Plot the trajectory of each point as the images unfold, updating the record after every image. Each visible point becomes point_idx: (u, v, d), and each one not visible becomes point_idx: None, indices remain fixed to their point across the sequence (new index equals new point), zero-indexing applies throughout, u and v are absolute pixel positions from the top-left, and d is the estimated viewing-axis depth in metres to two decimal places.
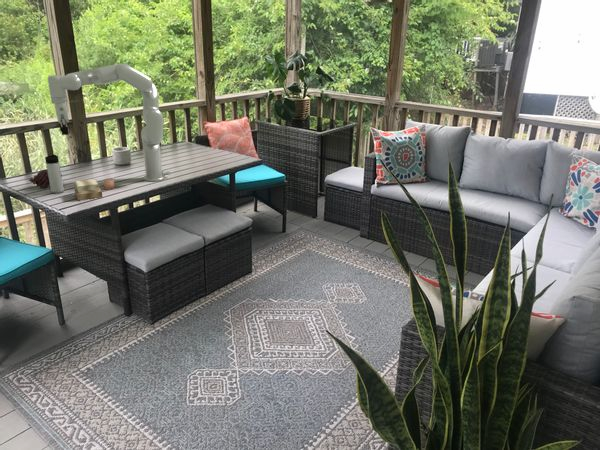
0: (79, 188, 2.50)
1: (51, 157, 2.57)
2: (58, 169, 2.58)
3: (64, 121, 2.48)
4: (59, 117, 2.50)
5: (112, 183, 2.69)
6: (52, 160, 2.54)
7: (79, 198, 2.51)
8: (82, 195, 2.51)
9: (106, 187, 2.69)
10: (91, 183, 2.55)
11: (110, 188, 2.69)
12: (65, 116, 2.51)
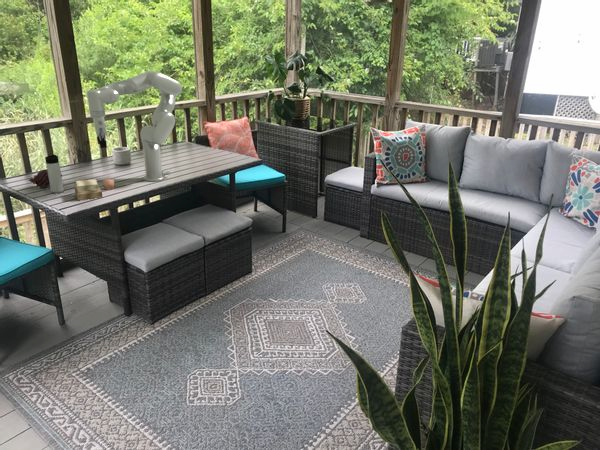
0: (79, 188, 2.50)
1: (51, 157, 2.57)
2: (58, 169, 2.58)
3: (103, 135, 2.53)
4: (98, 131, 2.54)
5: (112, 183, 2.69)
6: (52, 160, 2.54)
7: (79, 198, 2.51)
8: (82, 195, 2.51)
9: (106, 187, 2.69)
10: (90, 183, 2.55)
11: (110, 188, 2.69)
12: (104, 130, 2.55)
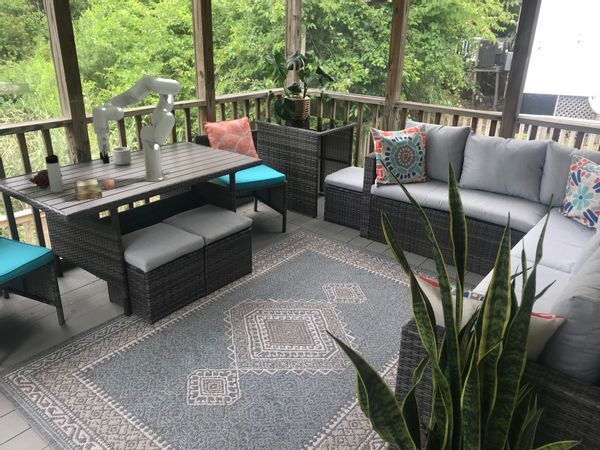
0: (79, 188, 2.51)
1: (51, 157, 2.57)
2: (58, 169, 2.58)
3: (106, 151, 2.56)
4: (101, 147, 2.57)
5: (112, 183, 2.69)
6: (52, 160, 2.54)
7: (79, 198, 2.51)
8: (82, 195, 2.51)
9: (106, 187, 2.69)
10: (91, 183, 2.55)
11: (110, 188, 2.69)
12: (107, 146, 2.58)
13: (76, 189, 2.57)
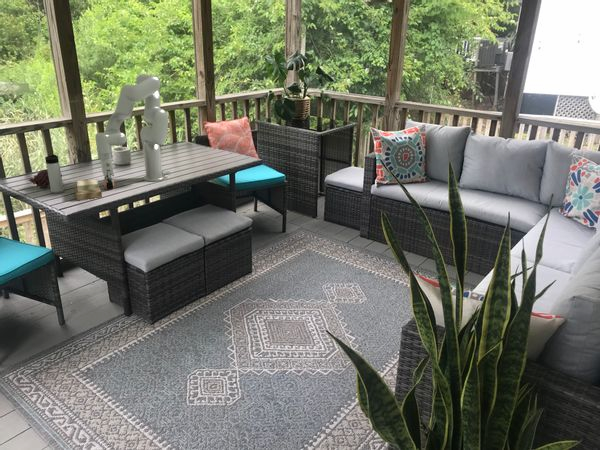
0: (79, 187, 2.51)
1: (51, 157, 2.57)
2: (58, 169, 2.58)
3: (110, 178, 2.63)
4: (105, 172, 2.63)
5: None
6: (52, 160, 2.54)
7: (79, 198, 2.51)
8: (82, 195, 2.51)
9: (106, 187, 2.68)
10: (91, 183, 2.55)
11: None
12: (111, 173, 2.64)
13: (76, 189, 2.57)
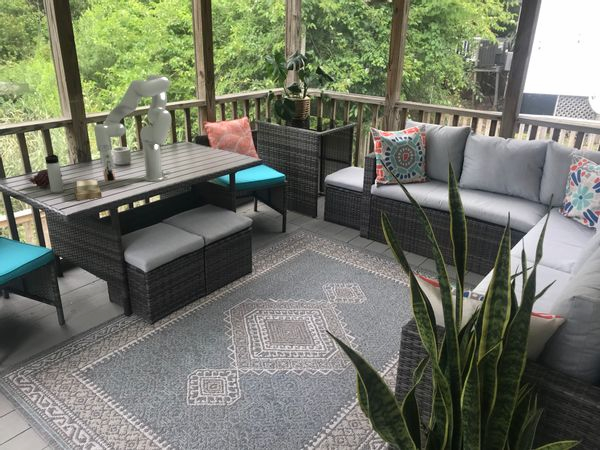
0: (78, 188, 2.51)
1: (51, 157, 2.57)
2: (58, 169, 2.58)
3: (110, 170, 2.62)
4: (105, 164, 2.62)
5: None
6: (52, 160, 2.54)
7: (78, 198, 2.51)
8: (81, 195, 2.51)
9: (106, 179, 2.67)
10: (90, 183, 2.55)
11: None
12: (111, 164, 2.63)
13: (76, 189, 2.57)
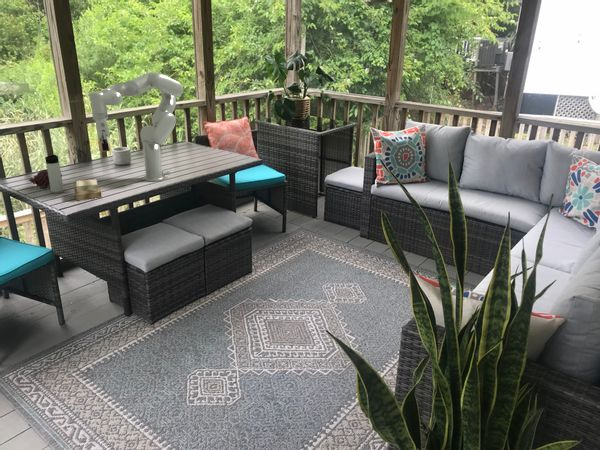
0: (78, 188, 2.51)
1: (51, 157, 2.57)
2: (58, 169, 2.58)
3: (106, 139, 2.55)
4: (100, 132, 2.55)
5: None
6: (52, 160, 2.54)
7: (78, 198, 2.51)
8: (81, 195, 2.51)
9: (101, 149, 2.60)
10: (90, 183, 2.55)
11: None
12: (106, 133, 2.56)
13: (75, 189, 2.57)
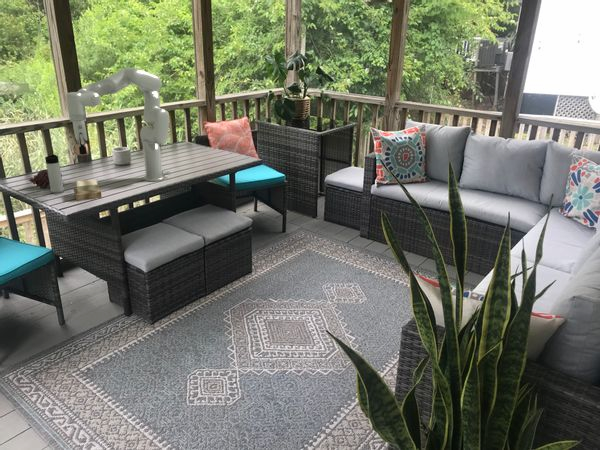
0: (78, 188, 2.51)
1: (51, 157, 2.57)
2: (58, 169, 2.58)
3: (83, 142, 2.42)
4: (77, 135, 2.42)
5: None
6: (52, 160, 2.54)
7: (78, 198, 2.51)
8: (81, 195, 2.51)
9: (79, 152, 2.47)
10: (91, 183, 2.55)
11: None
12: (84, 136, 2.43)
13: (75, 189, 2.57)
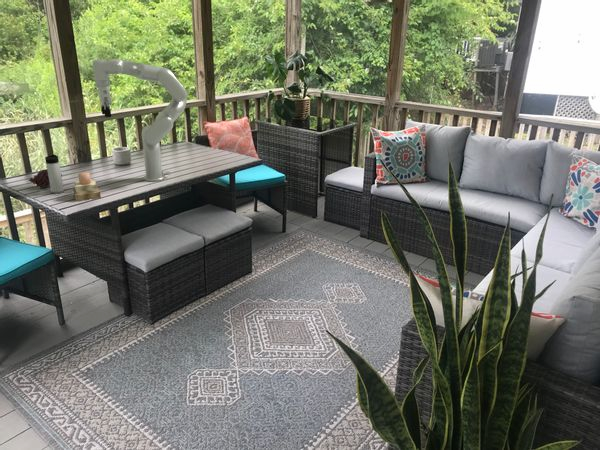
0: (77, 188, 2.50)
1: (51, 157, 2.57)
2: (58, 169, 2.58)
3: (108, 103, 2.60)
4: (103, 100, 2.61)
5: (88, 177, 2.53)
6: (52, 160, 2.54)
7: (77, 199, 2.50)
8: (80, 196, 2.50)
9: (81, 181, 2.52)
10: None
11: (86, 182, 2.53)
12: (108, 99, 2.62)
13: (74, 190, 2.57)
